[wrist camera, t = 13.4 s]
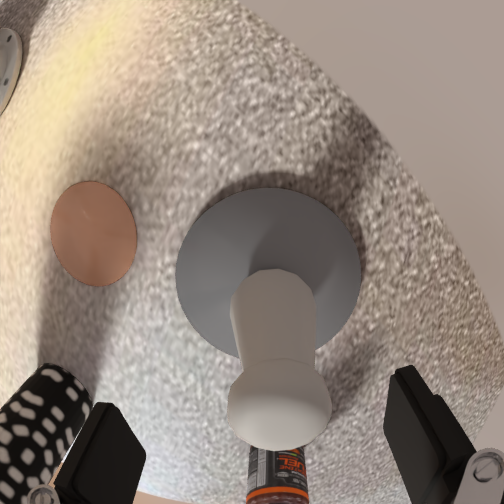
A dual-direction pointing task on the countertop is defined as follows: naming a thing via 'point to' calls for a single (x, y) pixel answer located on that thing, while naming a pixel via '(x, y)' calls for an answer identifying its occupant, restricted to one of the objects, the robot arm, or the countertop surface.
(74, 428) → the spotted tube
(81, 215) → the terracotta spot
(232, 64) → the countertop surface
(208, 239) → the slate plate
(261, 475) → the supplement bottle
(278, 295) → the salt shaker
